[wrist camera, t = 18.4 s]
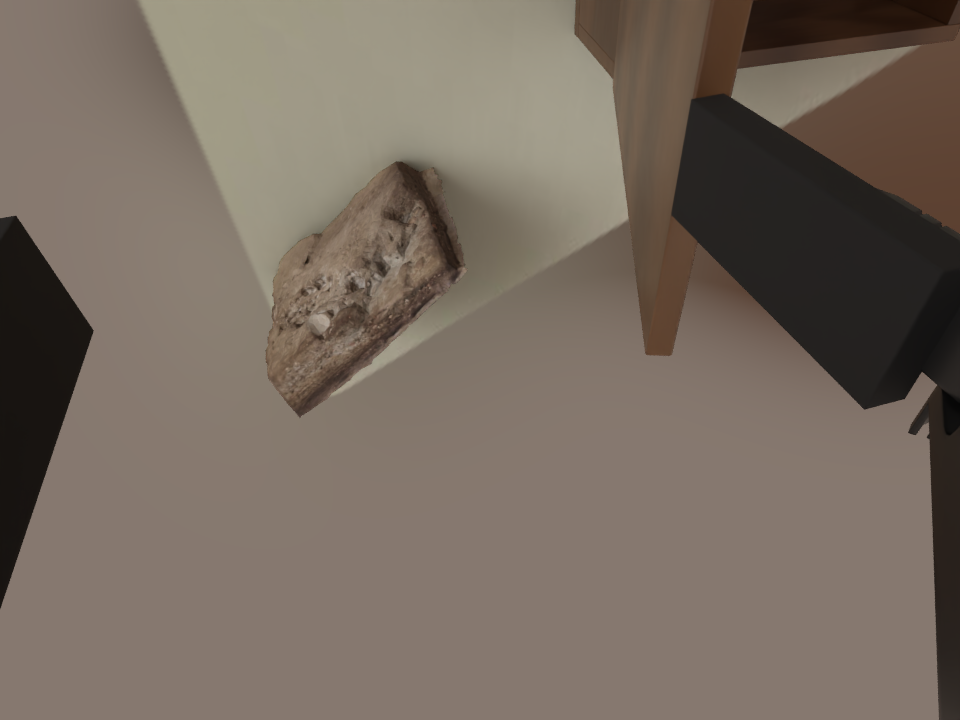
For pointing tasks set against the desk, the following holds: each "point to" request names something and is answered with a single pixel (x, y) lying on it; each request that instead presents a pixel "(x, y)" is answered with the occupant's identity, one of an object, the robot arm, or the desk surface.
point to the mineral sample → (360, 284)
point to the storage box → (799, 28)
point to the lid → (666, 134)
